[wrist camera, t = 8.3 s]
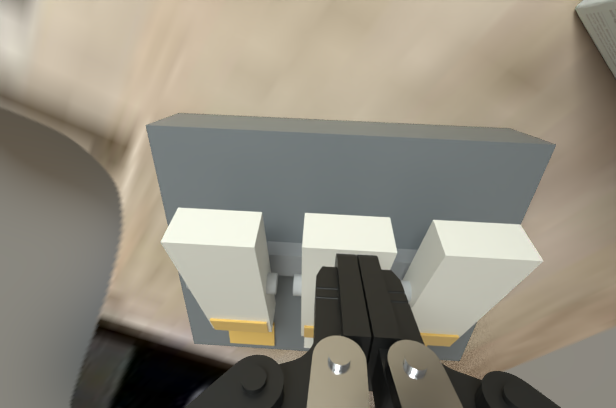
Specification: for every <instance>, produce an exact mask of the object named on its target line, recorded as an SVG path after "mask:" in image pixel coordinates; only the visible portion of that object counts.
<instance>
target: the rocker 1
mask: <svg viewBox="0 0 616 408" xmlns="http://www.w3.org/2000/svg"><path fill="white" fill-rule="evenodd" d="M161 244H162V245H163V247H164V249H165V250H166V252H167V254H168V255H169V257H170V258H171V260H172V262H173V263H174V265H175V267H176V268H177V270H178V271H179V273H180V275H181V276H182V278H183V280H184V281H185V283H186V287H187V289H190V291H191V293H192V294H193V296H194V297H195V299H196V301H197V302H198V304H199V306H200V307H201V309H202V310H203V312H204V314H205V315H206V317H207V319H208V320H209V322H210V323H211V325H212V327H213V328H214V329H215V330H227V331H242V332H258V333H268V332H272V327H273V320H274V313H275V305H276V302H275V295H276V292H277V286H278V273H271V268H270V261H269V255H268V248H267V241H266V234H265V227H264V221H263V214H262V212H251V211H233V210H214V209H196V208H178V209H177V211H176V213H175V215H174V217H173V219H172V221H171V222H170V224H169V226H168V228H167V230H166V232H165V234H164V236H163V238H162V240H161ZM274 294H275V295H274Z"/></svg>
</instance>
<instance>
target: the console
mask: <svg viewBox="0 0 616 408" xmlns="http://www.w3.org/2000/svg"><path fill="white" fill-rule="evenodd" d="M146 129H147V133H148V138H149V142H150V147H151V151H152V156H153V160H154V165H155V169H156V174H157V178H158V183H159V187H160V192H161V196H162V201H163V205H164V210H165V214H166V219H167V223H168V226H169V224H170V222H171V221H172V219H173V217H174V215H175V213H176V211H177V209H178V208H196V209H214V210H233V211H251V212H262V214H263V221H264V227H265V234H266V241H267V248H268V255H269V261H270V268H271V273H278V286H277V292H276V295H275V294H274V295H275V302H276V305H275V313H274V320H273V327H272V332H268V333H258V332H242V331H227V330H215V329H214V328H213V327H212V325H211V323H210V322H209V320H208V319H207V317H206V315H205V314H204V312H203V310H202V309H201V307H200V306H199V304H198V302H197V301H196V299H195V297H194V296H193V294H192V293H191V291H190V289H187V287H186V283H185V281H184V280H183V278H182V276H181V275H180V273H179V277H180V281H181V286H182V290H183V295H184V299H185V304H186V308H187V313H188V317H189V322H190V326H191V331H192V335H193V340H194V344H207V345H222V346H238V347H253V348H268V349H283V350H299V351H309V349H310V348H311V347H312V345H313V338H308V337H304V336H301V296H293V282H294V274H302V241H303V229H304V217H305V213H318V214H336V215H355V216H373V217H390V219H391V224H392V229H393V234H394V239H395V244H396V248H397V255H396V257H395V260H394V262H393V264H392V267H391V269H390V270H392V272H393V273H394V274H395V275H396V276H397V277H398V278H399V279H400V280H403V278H404V276H405V274H406V272H407V270H408V268H409V266H410V264H411V262H412V260H413V258H414V257H415V255H416V253H417V251H418V249H419V247H420V245H421V243H422V241H423V239H424V237H425V235H426V233H427V231H428V229H429V227H430V225H431V223H432V221H433V220H447V221H465V222H484V223H502V224H520V225H521V222H522V220H523V218H524V216H525V213H526V211H527V209H528V207H529V205H530V202H531V200H532V198H533V196H534V193H535V191H536V189H537V187H538V184H539V182H540V180H541V178H542V175H543V173H544V171H545V169H546V166H547V164H548V162H549V160H550V158H551V155H552V153H553V151H554V149H555V146H556V144H553V143H550V142H547V141H544V140H542V139H539V138H536V137H533V136H530V135H528V134H525V133H522V132H519V131H516V130H513V129H510V128H489V127H467V126H446V125H424V124H403V123H381V122H360V121H338V120H317V119H295V118H274V117H252V116H231V115H209V114H188V113H178V114H175V115H172V116H170V117H167V118H164V119H161V120H158V121H156V122H153V123H150V124H147V125H146ZM178 272H179V271H178ZM476 323H477V322H476ZM476 323H475V324H474V325H473V326H472V327H471V328H470V329H468V330H467V331H466V332H465V333H464V334H463V335H462V336H461V337H460V338H459V339H458V340H456V341H455V342H454V343H453V344H452V345H451V346H450V347H447V346H432V345H425V346H426V347H428V348H429V349H431V350H432V351H433V352H434V353H435V354H436V355H437V357H438V358H439V359H440V360H451V361H460V359H461V357H462V355H463V352H464V350H465V348H466V346H467V343H468V341H469V339H470V337H471V334H472V332H473V330H474V328H475V325H476Z"/></svg>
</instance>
